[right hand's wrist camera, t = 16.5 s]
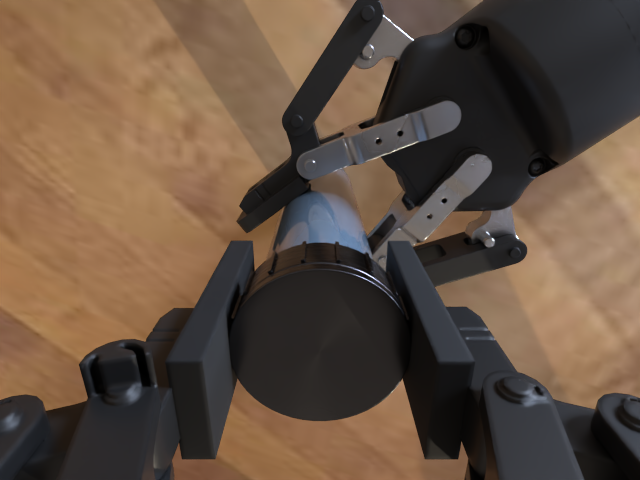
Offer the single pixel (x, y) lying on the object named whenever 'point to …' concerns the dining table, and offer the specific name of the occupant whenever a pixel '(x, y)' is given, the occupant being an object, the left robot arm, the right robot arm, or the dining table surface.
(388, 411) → the dining table surface
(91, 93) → the dining table surface
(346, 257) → the lid
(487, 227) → the left robot arm
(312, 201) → the bottle
